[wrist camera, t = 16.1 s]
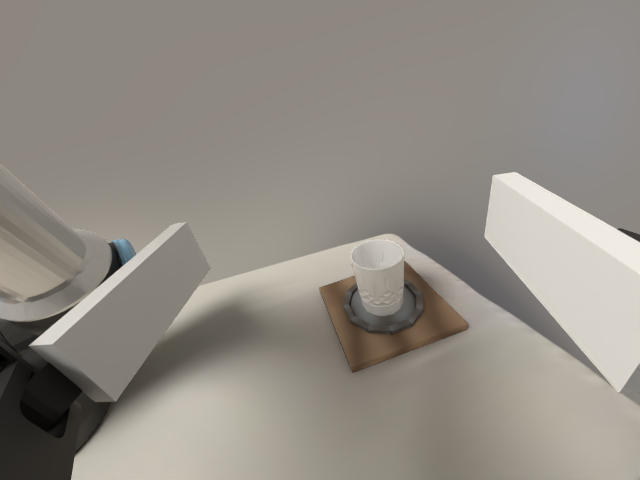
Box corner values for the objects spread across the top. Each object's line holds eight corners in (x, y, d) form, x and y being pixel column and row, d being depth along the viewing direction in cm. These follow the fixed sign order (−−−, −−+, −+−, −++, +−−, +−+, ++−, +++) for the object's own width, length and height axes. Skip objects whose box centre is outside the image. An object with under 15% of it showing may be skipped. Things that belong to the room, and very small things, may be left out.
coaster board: (352, 372, 36) (350, 363, 35) (320, 292, 52) (318, 284, 51) (467, 329, 38) (468, 319, 37) (403, 264, 54) (402, 256, 53)
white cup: (349, 306, 45) (339, 259, 40) (376, 280, 49) (370, 234, 44) (389, 327, 39) (384, 276, 34) (415, 296, 44) (414, 246, 39)
